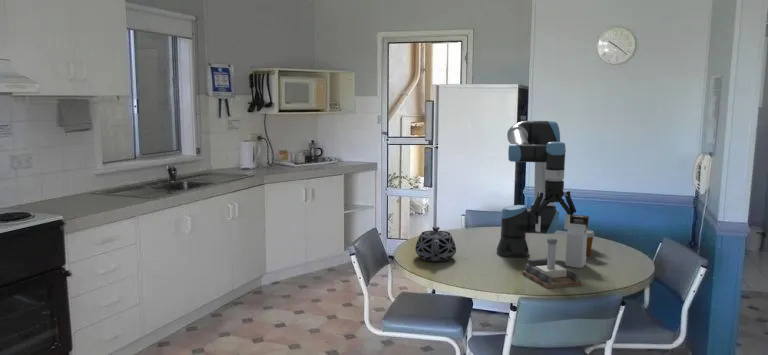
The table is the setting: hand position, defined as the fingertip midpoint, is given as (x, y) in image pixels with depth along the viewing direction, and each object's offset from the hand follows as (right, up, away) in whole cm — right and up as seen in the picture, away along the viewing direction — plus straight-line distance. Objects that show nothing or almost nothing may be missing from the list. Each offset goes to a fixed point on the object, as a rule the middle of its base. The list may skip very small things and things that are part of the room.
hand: (552, 230), depth 260 cm
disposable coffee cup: (+25, -16, +40) cm, 50 cm away
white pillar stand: (0, -19, +2) cm, 19 cm away
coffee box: (+28, -13, +57) cm, 64 cm away
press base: (0, -21, +2) cm, 21 cm away
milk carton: (+17, -18, +23) cm, 34 cm away
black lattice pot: (-46, -16, +35) cm, 60 cm away
